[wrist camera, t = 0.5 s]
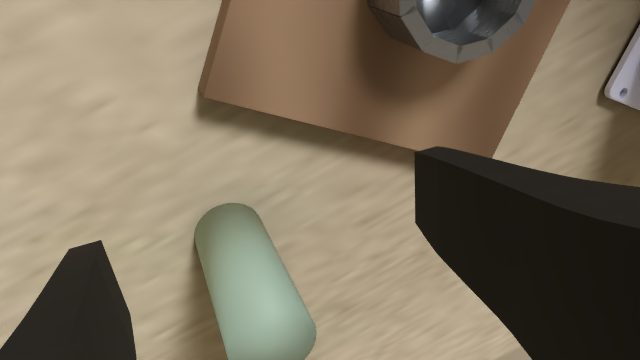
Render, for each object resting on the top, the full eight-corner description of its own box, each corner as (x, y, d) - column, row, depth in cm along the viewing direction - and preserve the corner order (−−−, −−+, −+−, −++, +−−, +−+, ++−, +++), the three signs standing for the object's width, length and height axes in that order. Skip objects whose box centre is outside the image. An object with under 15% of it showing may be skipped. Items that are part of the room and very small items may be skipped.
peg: (270, 208, 23) (328, 309, 17) (250, 264, 24) (299, 378, 18) (205, 198, 21) (243, 305, 15) (186, 258, 22) (216, 379, 16)
